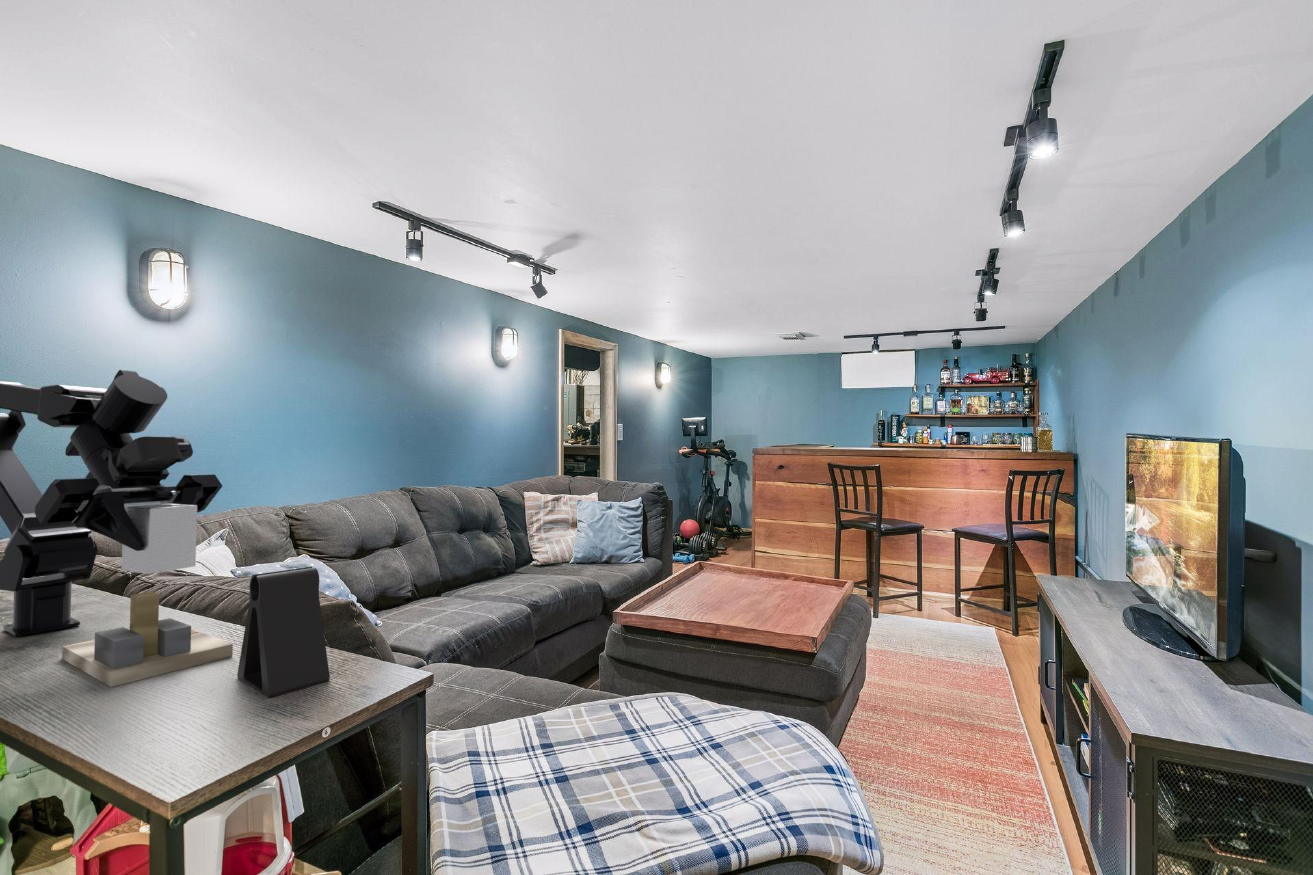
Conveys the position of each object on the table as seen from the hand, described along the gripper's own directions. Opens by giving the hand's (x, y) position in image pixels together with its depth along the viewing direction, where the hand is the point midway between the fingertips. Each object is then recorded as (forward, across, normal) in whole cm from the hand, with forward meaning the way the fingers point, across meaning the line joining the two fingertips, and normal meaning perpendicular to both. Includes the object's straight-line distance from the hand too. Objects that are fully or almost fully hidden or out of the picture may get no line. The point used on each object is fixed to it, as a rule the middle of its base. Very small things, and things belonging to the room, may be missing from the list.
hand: (166, 545), depth 77 cm
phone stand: (+26, -3, -8) cm, 27 cm away
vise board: (+11, -3, +8) cm, 14 cm away
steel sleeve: (+1, 0, +3) cm, 3 cm away
